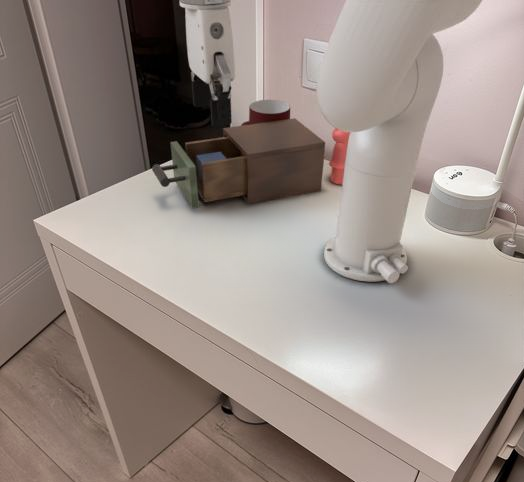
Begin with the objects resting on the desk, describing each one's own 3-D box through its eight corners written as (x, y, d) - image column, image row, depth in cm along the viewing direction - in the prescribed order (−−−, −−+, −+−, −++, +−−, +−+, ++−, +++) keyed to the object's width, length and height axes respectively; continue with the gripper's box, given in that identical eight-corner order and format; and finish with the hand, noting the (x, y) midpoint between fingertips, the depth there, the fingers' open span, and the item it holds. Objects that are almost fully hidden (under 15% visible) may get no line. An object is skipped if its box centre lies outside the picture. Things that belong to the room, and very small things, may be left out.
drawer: (167, 212, 91) (162, 171, 86) (151, 184, 99) (145, 145, 94) (264, 195, 96) (264, 155, 92) (241, 169, 104) (241, 131, 99)
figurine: (344, 172, 106) (354, 91, 96) (359, 182, 103) (370, 100, 92) (322, 176, 104) (329, 95, 94) (336, 187, 101) (345, 104, 91)
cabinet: (248, 204, 96) (248, 154, 90) (224, 175, 104) (223, 128, 98) (321, 190, 100) (325, 142, 94) (292, 164, 108) (295, 118, 102)
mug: (247, 169, 106) (247, 118, 100) (232, 154, 112) (231, 104, 105) (295, 160, 110) (297, 110, 103) (277, 146, 115) (279, 97, 108)
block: (229, 186, 96) (229, 161, 93) (205, 190, 95) (204, 165, 92) (221, 175, 100) (220, 151, 96) (197, 179, 98) (196, 155, 95)
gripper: (250, 1, 73) (252, 129, 84) (210, -18, 85) (216, 97, 96) (197, 5, 71) (206, 136, 82) (164, -15, 82) (176, 102, 94)
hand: (212, 115), depth 89 cm, fingers open, 9 cm apart
